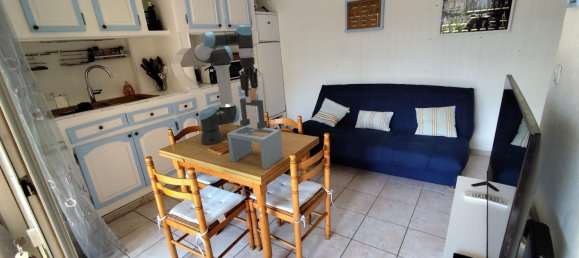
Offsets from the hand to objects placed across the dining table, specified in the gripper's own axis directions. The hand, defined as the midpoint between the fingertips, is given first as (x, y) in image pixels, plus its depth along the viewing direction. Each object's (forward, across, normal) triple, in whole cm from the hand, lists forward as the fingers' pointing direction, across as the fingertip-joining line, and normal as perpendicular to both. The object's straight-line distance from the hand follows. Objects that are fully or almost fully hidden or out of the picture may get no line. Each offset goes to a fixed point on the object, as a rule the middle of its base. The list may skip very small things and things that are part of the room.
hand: (251, 101), depth 149 cm
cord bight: (+14, 0, 0) cm, 14 cm away
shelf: (+35, 0, 0) cm, 35 cm away
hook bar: (+19, 0, 0) cm, 19 cm away
